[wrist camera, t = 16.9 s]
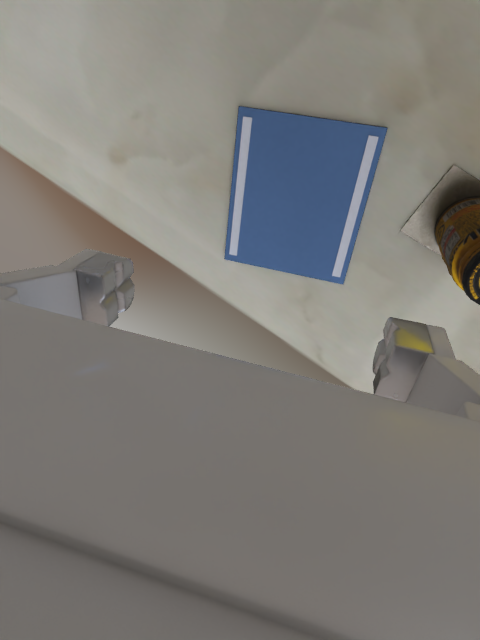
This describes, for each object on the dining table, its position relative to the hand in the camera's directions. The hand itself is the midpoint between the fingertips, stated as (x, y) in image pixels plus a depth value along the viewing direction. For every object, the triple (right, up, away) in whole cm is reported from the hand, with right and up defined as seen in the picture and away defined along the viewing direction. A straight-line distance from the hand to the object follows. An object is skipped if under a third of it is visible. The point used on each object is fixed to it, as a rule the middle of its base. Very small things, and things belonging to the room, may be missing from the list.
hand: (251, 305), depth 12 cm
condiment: (+21, +9, +26) cm, 35 cm away
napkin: (+5, +12, +29) cm, 32 cm away
